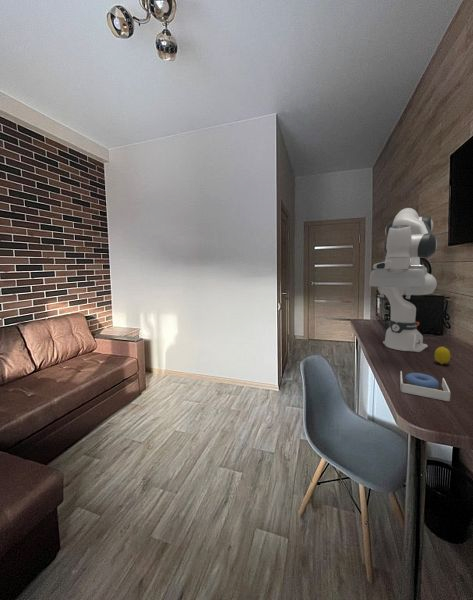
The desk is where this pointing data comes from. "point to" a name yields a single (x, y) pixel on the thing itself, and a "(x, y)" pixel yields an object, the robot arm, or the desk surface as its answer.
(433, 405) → the desk surface
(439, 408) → the desk surface
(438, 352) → the lemon
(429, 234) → the robot arm
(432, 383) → the doughnut
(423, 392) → the box
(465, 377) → the desk surface
